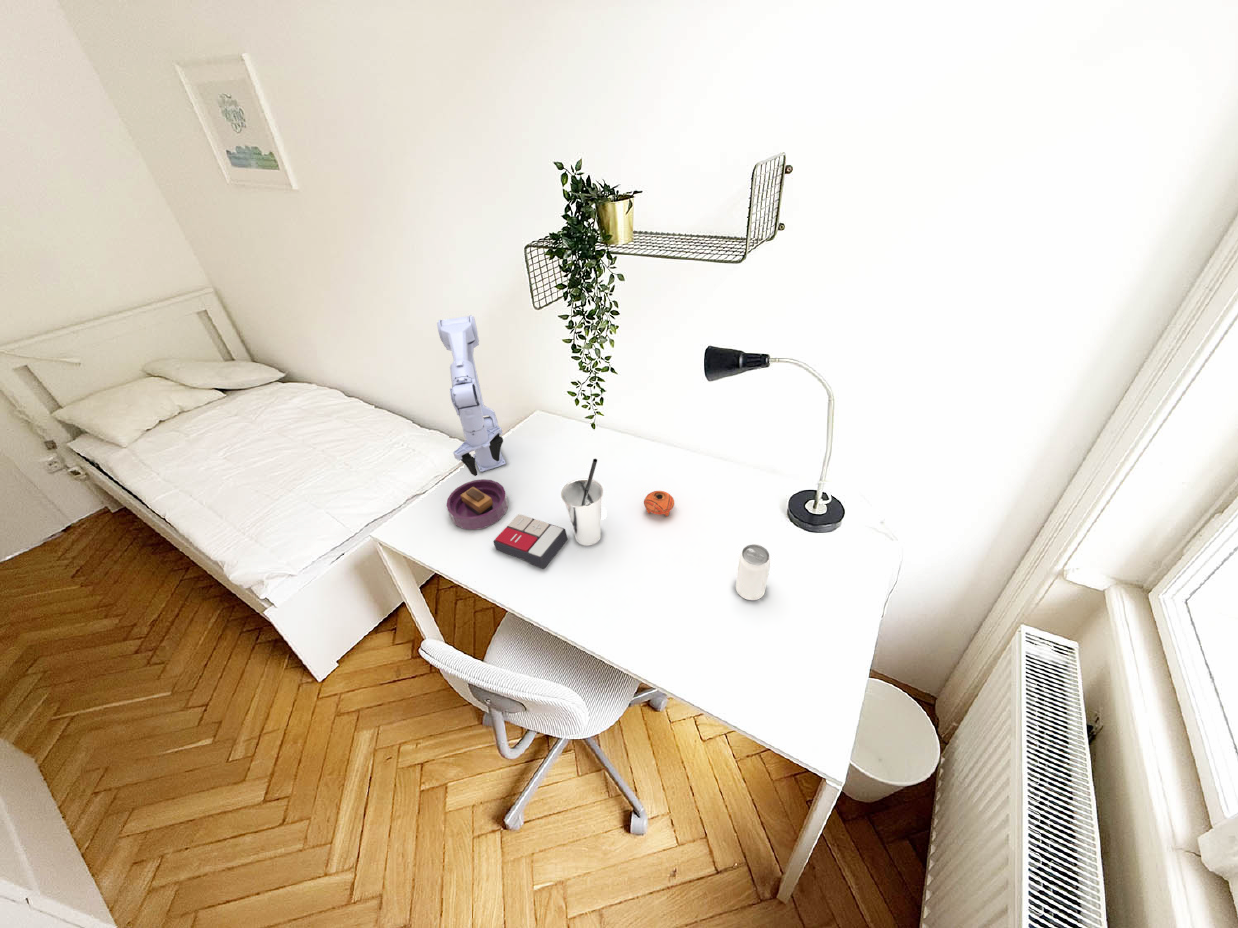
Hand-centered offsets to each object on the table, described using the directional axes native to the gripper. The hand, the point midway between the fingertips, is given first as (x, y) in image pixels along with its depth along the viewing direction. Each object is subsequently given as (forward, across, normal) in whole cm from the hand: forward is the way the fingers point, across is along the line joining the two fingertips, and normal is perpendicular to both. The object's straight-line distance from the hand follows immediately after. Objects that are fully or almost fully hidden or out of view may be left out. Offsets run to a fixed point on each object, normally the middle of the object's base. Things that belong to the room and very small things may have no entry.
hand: (485, 466), depth 144 cm
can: (+10, +14, -74) cm, 76 cm away
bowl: (+10, -7, -2) cm, 12 cm away
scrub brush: (+9, -7, -2) cm, 12 cm away
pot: (+10, +22, -42) cm, 49 cm away
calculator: (+10, -7, -23) cm, 26 cm away
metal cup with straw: (+10, +4, -34) cm, 36 cm away
